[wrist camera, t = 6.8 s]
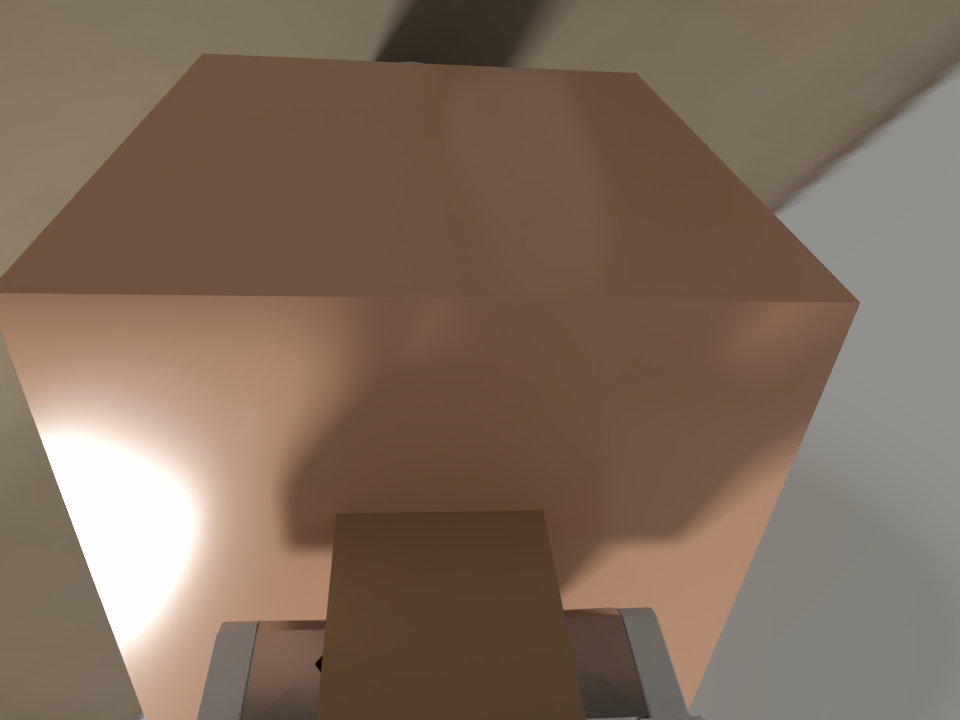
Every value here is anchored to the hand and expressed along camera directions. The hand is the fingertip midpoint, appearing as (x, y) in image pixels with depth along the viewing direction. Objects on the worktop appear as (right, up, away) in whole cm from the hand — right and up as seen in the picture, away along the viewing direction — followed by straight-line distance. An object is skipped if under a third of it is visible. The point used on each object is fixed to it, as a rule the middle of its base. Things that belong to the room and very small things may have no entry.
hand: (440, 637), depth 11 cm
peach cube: (-1, +7, +10) cm, 12 cm away
